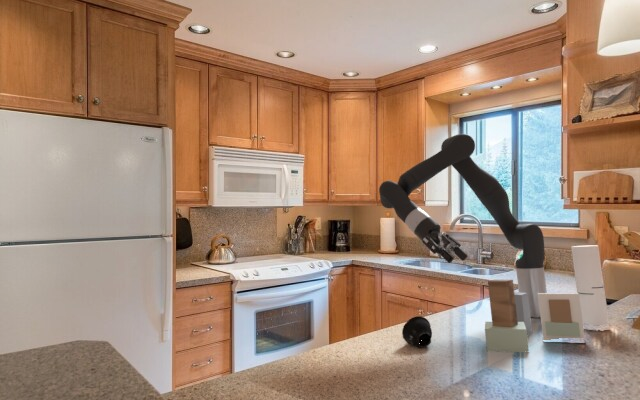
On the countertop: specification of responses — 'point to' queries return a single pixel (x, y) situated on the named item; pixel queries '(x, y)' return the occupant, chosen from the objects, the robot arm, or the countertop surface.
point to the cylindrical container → (590, 284)
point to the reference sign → (560, 315)
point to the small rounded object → (417, 331)
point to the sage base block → (506, 338)
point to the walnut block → (502, 303)
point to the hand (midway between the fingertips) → (459, 259)
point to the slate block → (523, 310)
